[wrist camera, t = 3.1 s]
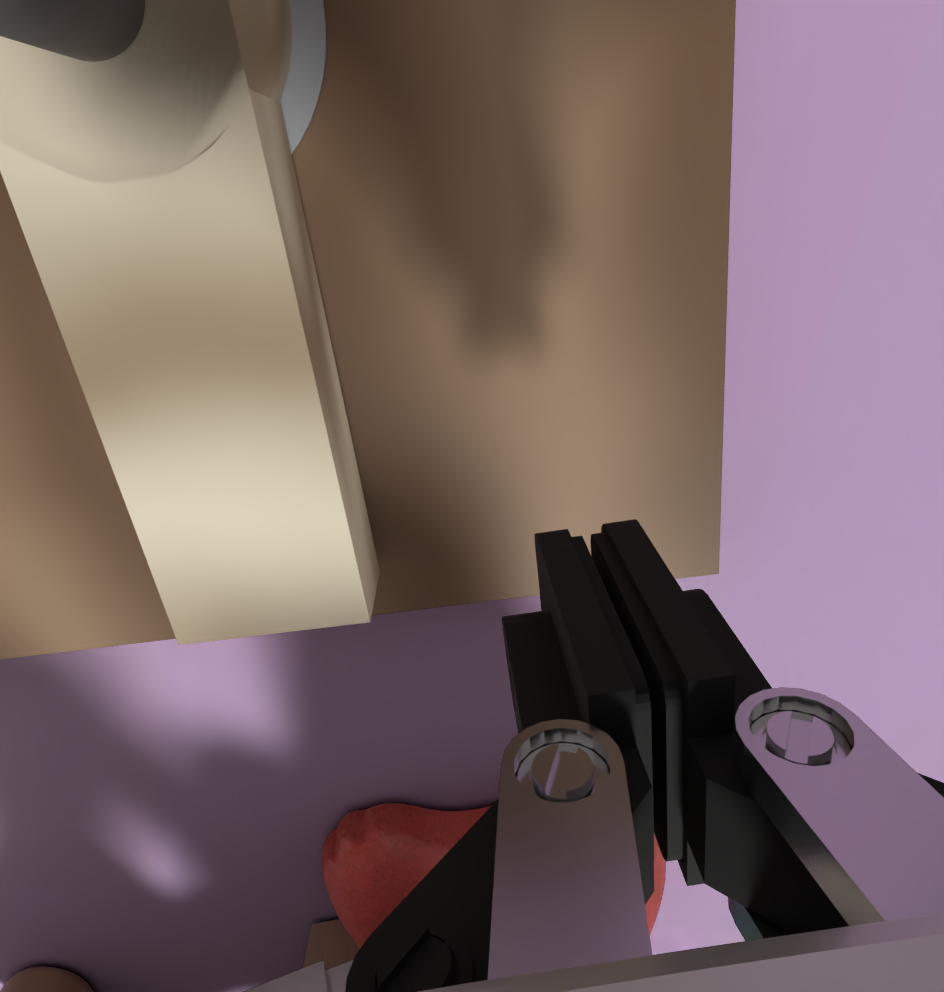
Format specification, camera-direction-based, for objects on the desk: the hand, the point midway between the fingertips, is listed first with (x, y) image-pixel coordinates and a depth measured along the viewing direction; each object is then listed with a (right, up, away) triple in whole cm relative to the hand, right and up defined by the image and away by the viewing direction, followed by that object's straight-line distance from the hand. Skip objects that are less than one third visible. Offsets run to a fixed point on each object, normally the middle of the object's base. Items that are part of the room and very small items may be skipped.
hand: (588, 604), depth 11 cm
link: (-7, +6, +2) cm, 9 cm away
